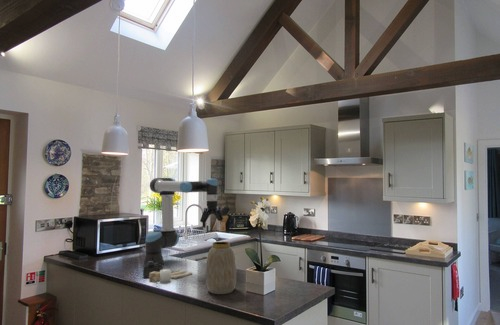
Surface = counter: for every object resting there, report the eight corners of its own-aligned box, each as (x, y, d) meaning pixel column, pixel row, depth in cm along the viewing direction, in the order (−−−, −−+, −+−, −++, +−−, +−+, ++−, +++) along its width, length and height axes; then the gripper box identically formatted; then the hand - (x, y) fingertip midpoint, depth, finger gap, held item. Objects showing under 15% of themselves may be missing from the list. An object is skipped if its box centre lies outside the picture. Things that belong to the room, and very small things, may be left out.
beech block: (149, 281, 227) (149, 273, 227) (154, 279, 232) (154, 271, 232) (156, 282, 225) (156, 273, 225) (160, 279, 230) (160, 271, 230)
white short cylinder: (157, 281, 225) (157, 270, 225) (165, 279, 230) (165, 268, 231) (164, 283, 221) (164, 271, 222) (172, 281, 227) (172, 269, 227)
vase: (211, 297, 195) (211, 246, 196) (202, 288, 211) (202, 241, 212) (240, 293, 202) (240, 244, 203) (230, 285, 218) (230, 239, 219)
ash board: (162, 276, 237) (162, 274, 237) (179, 271, 249) (179, 270, 249) (175, 279, 230) (175, 277, 230) (191, 274, 242) (191, 272, 242)
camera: (157, 272, 247) (157, 258, 248) (165, 275, 240) (165, 260, 241) (139, 276, 238) (139, 261, 238) (146, 279, 231) (146, 263, 231)
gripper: (202, 201, 243) (202, 233, 242) (227, 200, 263) (227, 229, 262) (195, 201, 248) (194, 232, 247) (220, 199, 267) (220, 228, 267)
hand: (211, 231), depth 254 cm, fingers open, 13 cm apart
